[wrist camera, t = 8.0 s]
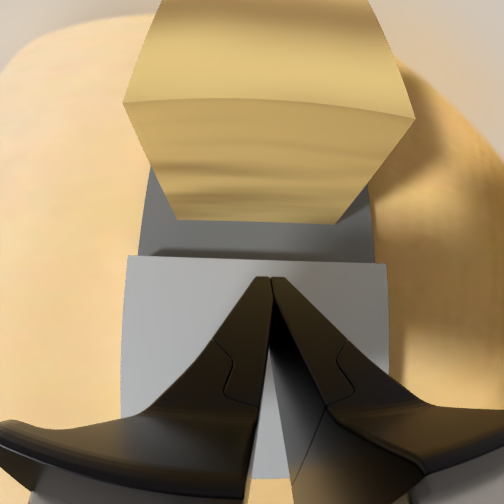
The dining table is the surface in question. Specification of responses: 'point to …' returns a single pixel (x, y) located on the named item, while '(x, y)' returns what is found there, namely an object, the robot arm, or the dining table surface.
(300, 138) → the ochre block
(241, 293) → the block
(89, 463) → the robot arm
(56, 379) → the dining table surface
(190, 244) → the rubber pad
